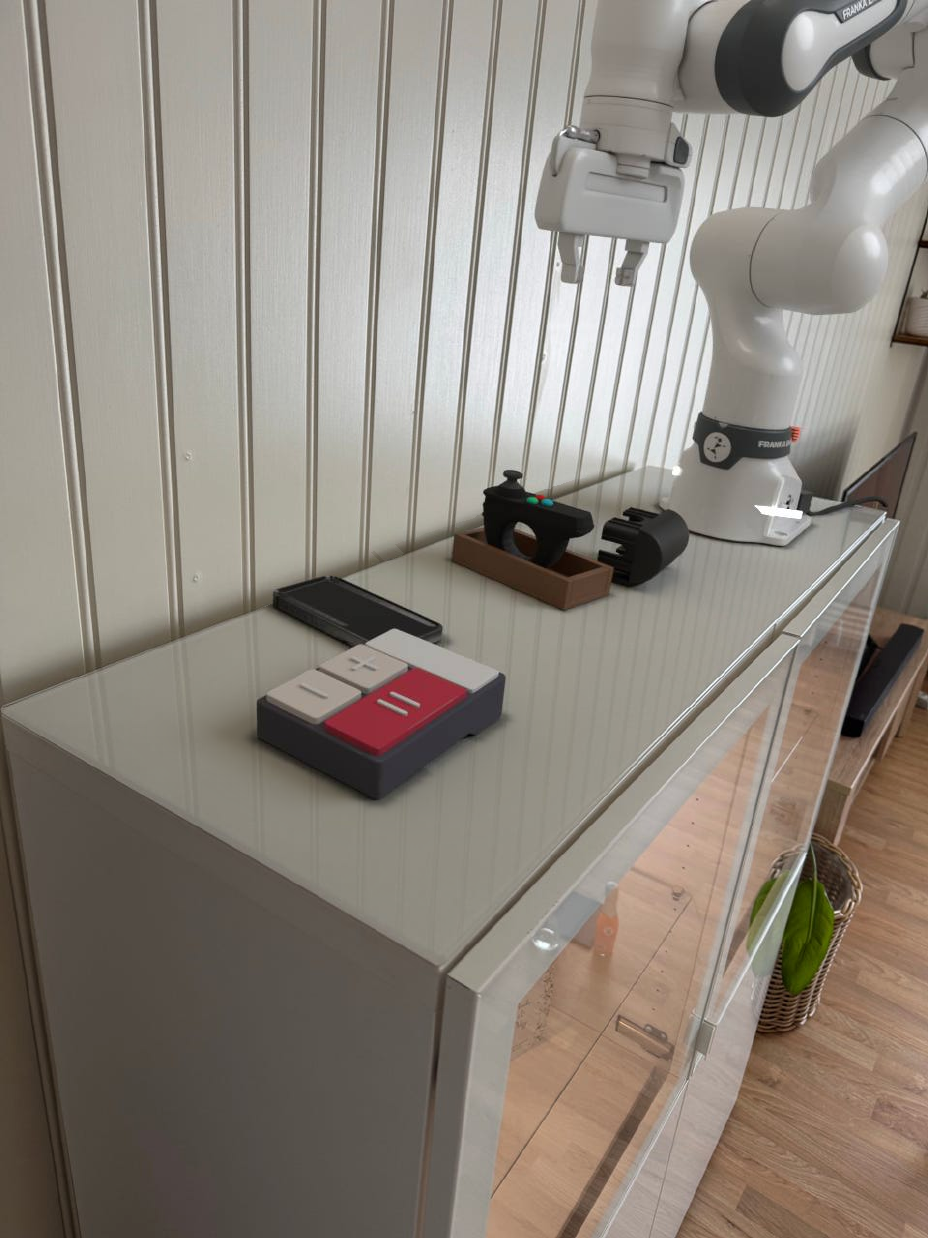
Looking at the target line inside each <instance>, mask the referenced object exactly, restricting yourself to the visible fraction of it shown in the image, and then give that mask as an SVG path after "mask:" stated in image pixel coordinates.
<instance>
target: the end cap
mask: <svg viewBox="0 0 928 1238" xmlns="http://www.w3.org/2000/svg"><path fill="white" fill-rule="evenodd" d="M622 516H623V517H627V518H628V520H627V519H625V518H624V519H623V518H620V517H616V516H613V517H612V518H610V519H608V520H607V521H605V522H604V524H603V527H602V531H601V537H600V540H602V541H607V542H609V543H610V542H611V543H614V544H617V545H619V546H617V547H616V548H615V552H611V551H606V550H603V549H598V553H597V559H596V561H599V562H601V563H604V564H606V565H609V566H611V567H614V569H613V574H612V580H611V583H615V584H617V585H621V586H624V587H633V588H634V587H637V586H640V585H643V584H644V583H646V582H648V581H651V580H652V579H654V578H655V577H656V576H658V575H659V574H660V573H661V572H662V571H663V570H665V569H666V568H667V567H668V566H669V565H670V564H672V563H673V562H674V561H675V560H676V559H677V558H679V557H681V555H683V553H684V552H685V550H686V548H687V547H688V544H689V540H690V530H688V527H687V524H686V522H685V521H684V519H683V518H682V517H681V516H680V515H679V514H678V513H676V512H675V511H673V510H670V509H667V510H664V511H662V512H661V513H657V512H652V511H648V510H646V509H645V510H644V509H641V508H637V507H633V506H630V507H628V508H626V509H625V510H623V511H622Z"/></svg>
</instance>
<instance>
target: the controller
mask: <svg viewBox="0 0 928 1238" xmlns="http://www.w3.org/2000/svg"><path fill="white" fill-rule="evenodd" d="M502 476H503V477H504V478H506V480H504V481H503V482H502V483H500V484H498V485H494V486H490V487H487V488H485V489H483V491H482V494H483V495H484V496H485V497H484V501H483V502H482V513H481V516H482V517H483V527H484V531H485V537H486V540H487V543H488V545H491V546H493V547H496V548H498V549H500V550H503V551H505V552H507V553H510V554H512V555H515V556H517V557H519V558H522V559H524V560H527V561H529V562H531V563H534V564H536V565H539V566H541V567H543V568H548V567H550V566H552V565H553V564H555V563H556V562H557V561H558V560H559V559H560V558H561V557H562V556H563V554H564V553H565V551H566V549H568V546H569V543H570V540H571V539H577V538H578V539H579V538H582V537H584V536H586V535H588V534H590V533H591V532H592V531H593V530H594V529H595V524H594V519H593V514H592V513H591V511H588V510H585V509H581V508H578V507H575V506H572V505H569V504H565V503H562V502H559V501H555V500H552V499H549V498H546V497H545V496H544V495H542V494H536V493H532V492H530V491H526V490H525V488H524V487H523V486H522V484H520V483H519V481H518V480H521V479H523V478H524V477H523V476H524V474H523V473H522V472H521V471H519V470H516V469H506V470H504V471H503V472H502ZM519 523H520V524H522V525H526V526H527V527H528V528H529V529H530V530H531V531H532V532H533V535H534V536H535V537H536V540H537V550H536V553H535V555H534V557H528V556H525V555H524V554H522V553H521V552H520V551H519V550H518V548H517V546H516V544H515V541H514V529H516V526H517V524H519Z"/></svg>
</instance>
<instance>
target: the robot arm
mask: <svg viewBox="0 0 928 1238" xmlns="http://www.w3.org/2000/svg"><path fill="white" fill-rule="evenodd" d="M590 41H591V42H590V57H591V71H590V76H589V79H588V82H587V84H586V87H585V90H584V92H583V96H582V104H581V110H580V117H579V123H578V124H579V125H578V126H577V125H574V124H566V125H565V126H564V127H563V129H561V130H559V131H558V132H557V134H556V136H554V137H553V139H552V142H551V148H550V152H549V153H548V155H547V158H546V160H545V163H544V167H543V170H542V172H541V173H542V174H541V178H540V183H539V185H538V186H539V187H538V191H537V196H536V202H535V207H534V220H535V223H536V227H537V228H538V229H539V230H542V231H548V232H556V233H558V236H557V243H556V244H557V249H558V253H559V258H560V261H561V264H562V265H561V271H560V281H561V282H562V283H564V284H565V283H566V284H572V285H581V284H582V282H583V280H584V274H585V269H586V266H585V265H582V264H581V257H580V250H579V249H580V248H583V244H584V239H585V238H584V237H585V236H594V237H601V238H609V239H620V240H625V246H624V251H625V252H626V254H625V257H624V259H623V261H622V263H621V266H620V267H616V270H615V277H614V284H615V285H616V286H620V287H628V288H632V287H634V286H635V285H636V282H637V276H638V271H639V270H640V268H641V267H642V264H643V263H644V261H645V259H646V257H647V256H648V253H649V247H650V243H652V244H653V243H655V244H663V245H666V244H668V243H669V242H670V241H671V239H672V238H673V236H674V234H675V232H676V230H677V226H678V223H679V222H678V221H679V218H680V214H681V208H682V205H683V204H682V203H683V198H684V193H685V184H686V182H685V181H686V180H685V179H686V178H685V174H684V172H683V170H682V169H688V168H689V167H690V166H691V162H692V160H693V154H694V148H693V146H692V144H691V143H690V142H689V141H688V140H687V139H686V138H685V137H684V136H683V134H682V133H681V131H679V129H678V128H677V126H676V123H674V122H672V117H673V113H675V114H680V115H746V116H754V117H765V118H778V117H781V116H785V115H787V114H788V113H790V112H792V111H793V110H795V109H796V108H797V107H798V106H799V105H800V104H801V103H803V101H804V100H805V99H806V98H807V97H808V96H809V95H810V93H811V92H812V91H813V90H814V88H816V86H817V85H818V83H820V81H821V80H822V79H823V78H824V77H825V76H826V75H827V74H828V73H829V72H830V71H831V70H832V69H833V68H835V67H837V65H839V64H840V63H842V62H844V61H845V60H847V59H849V58H851V59H852V62H853V65H854V67H855V70H856V71H857V72H858V73H859V74H860V75H863V76H864V77H867V78H869V79H873V80H877V81H878V80H879V81H883V82H887V81H891V80H894V81H896V82H895V83H894V86H893V87H892V89H891V91H890V92H889V94H888V95H887V97H886V98H884V100H882V101H881V102H880V103H878V105H876V106H875V107H874V108H873V109H872V110H871V111H869V112H868V113H867V114H865V116H863V117H862V118H861V119H860V120H859V121H858V122H857V123H856V124H855V125H854V126H853V127H851V128H850V130H849V131H848V132H847V133H846V134H844V135H843V136H842V137H841V138H840V139H839V140H838V142H836V144H834V145H833V146H832V147H831V148H830V149H829V150H828V151H827V152H826V153H825V154H824V155H823V156H822V157H821V158H820V159H819V160H818V161H817V163H816V164H815V166H814V167H813V171H812V172H811V177H810V180H809V181H810V182H809V189H808V190H809V191H808V192H809V199H810V204H807V205H805V206H803V207H799V208H795V209H791V208H790V209H785V208H774V207H773V208H772V207H762V206H761V207H760V206H747V205H746V206H741V207H735V208H731V209H726V210H723V211H722V210H721V211H717V212H714V213H712V214H710V215H709V216H708V217H707V218H705V219H704V221H703V222H702V223H700V225H699V226H698V228H697V230H696V232H695V234H694V236H693V239H692V242H691V245H690V250H689V267H690V271H691V275H692V277H693V279H694V281H695V282H696V284H697V285H698V287H699V288H700V290H701V292H702V294H703V296H704V298H705V301H706V304H707V308H708V313H709V317H710V318H709V319H710V325H711V334H712V350H711V352H712V353H711V361H710V368H709V372H708V379H707V385H706V389H705V394H704V398H703V399H704V400H703V405H702V409H701V411H700V412H698V413H697V418H696V421H695V422H694V425H693V434H692V439H691V440H692V441H693V443H692V444H691V445H690V446H689V447H687V448H686V449H684V450H683V451H682V453H681V455H680V458H679V461H678V464H677V466H673V469H672V475H674V478H673V481H672V484H671V488H670V492H669V495H668V497H662V498H661V499H660V502H659V507H660V508H661V509H663V510H664V511H665V510H667V509H670V510H673V511H675V512H676V513H678V514H679V515H680V516H681V517H682V518H683V519H684V521H685V522H686V524H687V527H688V530H689V531H691V532H694V533H696V534H701V535H705V536H709V537H712V538H717V539H722V540H727V541H734V542H746V543H760V544H765V545H772V546H780V547H784V546H787V545H788V544H789V543H790V542H792V541H793V540H794V539H796V537H798V536H799V535H800V534H801V533H803V532H804V531H805V530H806V529H807V528H809V527H810V526H811V525H812V519H813V518H812V517H816V516H824V515H827V514H828V513H832V512H834V511H839V510H841V509H844V508H846V507H850V506H852V507H853V506H857V505H861V504H865V503H870V502H877V503H880V505H881V506H882V507H884V508H889V504H888V501H886V500H885V499H884V498H882V497H880V496H866V497H862V498H858V499H853V500H846V501H844V502H841V503H839V504H836V505H831V506H829V507H826V508H823V509H821V510H819V511H816V512H815V511H814V512H813V511H811V507H812V501H813V497H814V492H812V491H810V490H806V489H803V482H802V479H801V478H800V477H799V475H798V473H797V471H796V470H795V468H794V466H793V464H792V462H791V460H790V459H789V455H790V454H791V446H792V443H797V442H798V441H799V439H800V437H801V436H802V435H801V434H802V428H801V427H800V426H793V425H791V421H792V417H793V414H794V409H795V406H796V401H797V398H798V394H799V391H800V390H799V389H800V386H801V383H802V378H803V374H804V365H803V361H802V358H801V356H800V354H799V353H798V352H797V350H796V349H795V348H794V347H793V346H792V345H791V344H790V342H789V340H788V337H787V335H786V332H785V327H784V311H790V312H793V313H794V312H795V313H800V314H806V315H809V316H810V315H811V316H829V315H831V316H832V315H833V316H834V315H844V314H853V313H856V312H858V311H860V310H861V309H863V308H864V307H866V306H867V305H868V304H869V303H870V302H871V301H872V300H873V299H874V298H875V296H876V295H877V294H878V292H879V291H880V289H881V288H882V285H883V284H884V282H885V279H886V276H887V272H888V269H889V268H888V267H889V260H890V257H889V256H890V254H889V248H888V247H889V246H888V242H887V240H886V237H885V234H884V233H883V231H882V230H883V228H884V226H886V224H887V223H888V222H889V221H890V219H891V218H892V217H894V215H895V214H896V213H898V211H899V210H900V209H901V208H902V207H903V205H905V203H907V201H909V199H910V198H911V197H913V195H914V194H915V193H916V192H917V191H918V190H919V189H920V188H921V187H922V186H923V185H924V184H925V183H926V182H927V181H928V0H597V5H596V9H595V15H594V21H593V28H592V35H591V40H590Z"/></svg>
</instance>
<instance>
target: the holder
mask: <svg viewBox="0 0 928 1238" xmlns="http://www.w3.org/2000/svg"><path fill="white" fill-rule="evenodd" d="M514 541H515V544H516V546H517V548H518V550H519V551H520V552H521V553H522V554H524V555H525V556H528V557H534V555H535V553H536V550H537V540H536V537H535V535H534V534H530V533H528V532H525V531H523V530H520V529H517V528H515V529H514ZM451 551H452V552H451V561H452V562H455V563H456V564H459V565H461V566H463V567H466V568H468V569H470V570H472V571H475V572H477V573H479V574H482V575H484V576H485V577H488V578H490V579H493V580H495V581H497V582H499V583H501V584H504V585H505V586H508V587H510V588H513V589H514V590H516V591H519V592H522V593H524V594H526V595H528V596H530V597H533V598H534V599H537V600H539V601H542V602H544V603H546V604H548V605H551V606H553V607H555V608H557V609H558V610H559V609H560V610H562V611H566V610H569V609H572V608H576V607H578V606H581V605H584V604H587V603H589V602H592V601H595V600H599V599H601V598H604V597H607V596H609V594H610V589H611V584H612V582H611V580H612V574H613V569H614V567H611V566H609V565H606V564H604V563H601V562H599V561H597V559H594V558H591V557H588V556H587V555H583V554H581V553H579V552H576V551H573V550H570V549H568V548H567V549H566V551H565V553H564V554H563V556H562V557H561V558H560V559H559V560H558V561H557V562H556V563H555V564H553V565H552V566H550V567H548V568H543V567H541V566H539V565H536V564H534V563H531V562H529V561H527V560H524V559H522V558H519V557H517V556H515V555H512V554H510V553H507V552H505V551H503V550H500V549H498V548H496V547H493V546H491V545H488V543H487V540H486V537H485V531H484V526H483V527H482V526H481V527H478V528H474V529H473V528H472V529H469V530H464V531H461V532H455V533H454V535H453V543H452V550H451Z"/></svg>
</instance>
